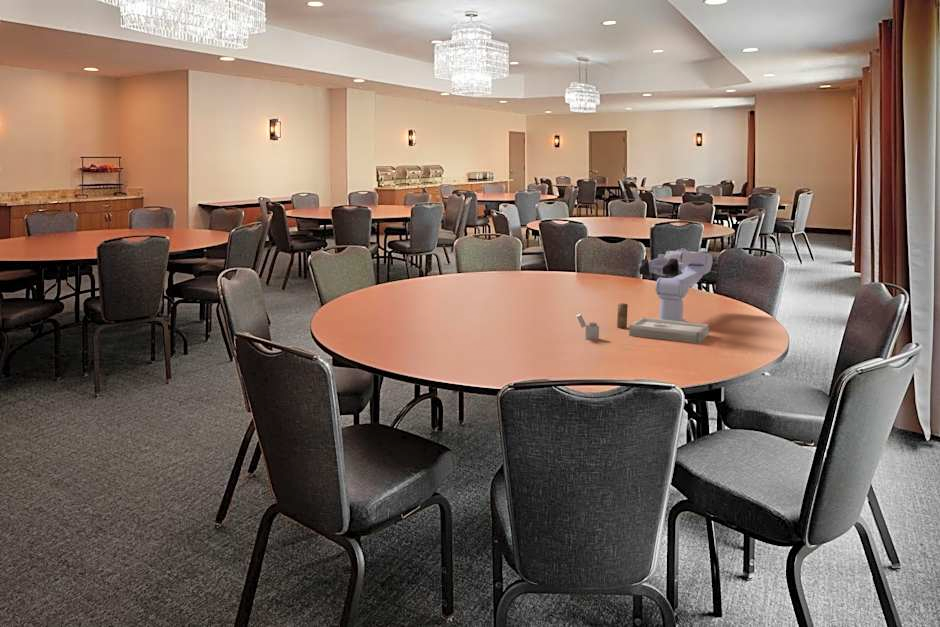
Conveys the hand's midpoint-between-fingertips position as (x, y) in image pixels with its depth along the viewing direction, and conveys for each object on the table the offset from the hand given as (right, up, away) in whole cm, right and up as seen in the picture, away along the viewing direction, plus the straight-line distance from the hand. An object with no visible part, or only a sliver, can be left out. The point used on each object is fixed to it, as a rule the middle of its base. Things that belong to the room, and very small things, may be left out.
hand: (652, 271), depth 231 cm
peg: (-7, -18, +14) cm, 24 cm away
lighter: (-21, -22, -2) cm, 30 cm away
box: (+6, -21, +2) cm, 22 cm away
